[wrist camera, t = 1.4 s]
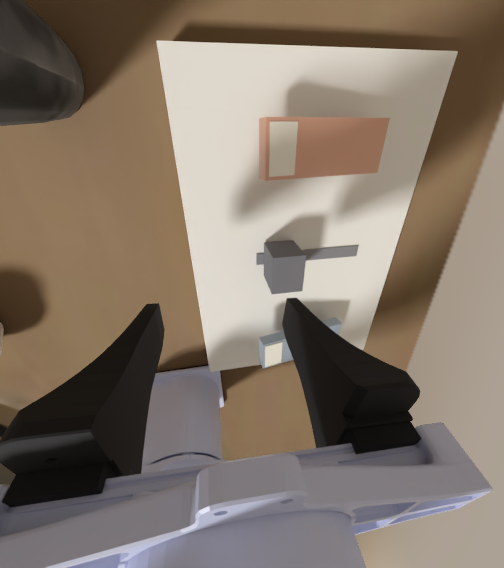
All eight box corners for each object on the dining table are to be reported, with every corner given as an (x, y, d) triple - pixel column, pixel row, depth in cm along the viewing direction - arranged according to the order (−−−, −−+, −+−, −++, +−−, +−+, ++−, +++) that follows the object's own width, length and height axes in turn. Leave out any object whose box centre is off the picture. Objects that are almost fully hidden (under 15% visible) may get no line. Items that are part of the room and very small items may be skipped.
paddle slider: (263, 275, 21) (271, 294, 18) (264, 242, 19) (273, 258, 17) (290, 272, 21) (302, 291, 18) (293, 240, 19) (306, 255, 17)
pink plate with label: (259, 178, 14) (265, 180, 14) (259, 118, 13) (266, 116, 12) (366, 171, 17) (378, 172, 16) (377, 118, 15) (391, 117, 14)
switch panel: (209, 357, 28) (209, 383, 25) (162, 52, 14) (151, 30, 11) (354, 337, 30) (370, 358, 27) (432, 60, 17) (480, 43, 14)
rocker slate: (259, 360, 23) (263, 369, 22) (259, 337, 21) (263, 345, 20) (330, 339, 25) (337, 346, 24) (335, 317, 23) (342, 324, 23)
